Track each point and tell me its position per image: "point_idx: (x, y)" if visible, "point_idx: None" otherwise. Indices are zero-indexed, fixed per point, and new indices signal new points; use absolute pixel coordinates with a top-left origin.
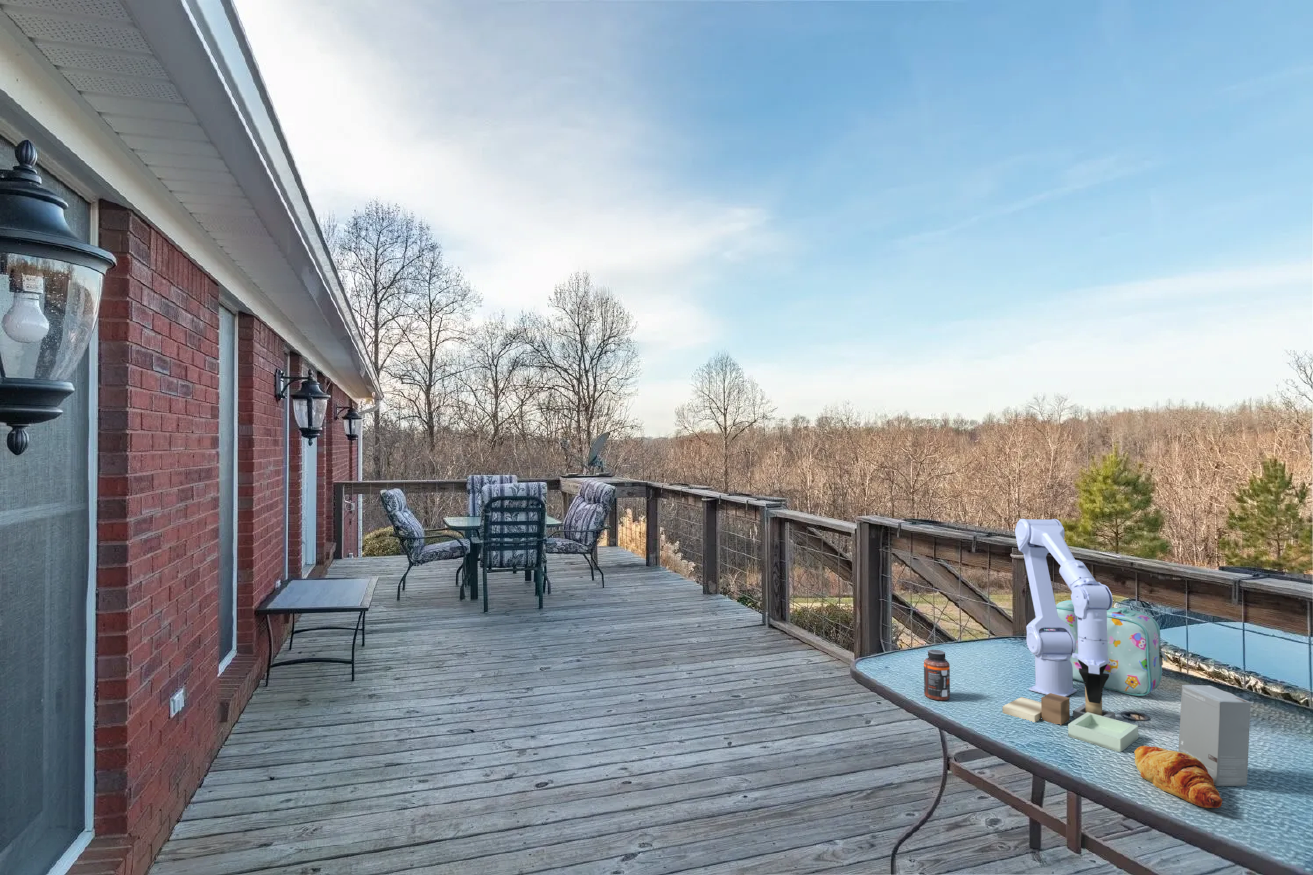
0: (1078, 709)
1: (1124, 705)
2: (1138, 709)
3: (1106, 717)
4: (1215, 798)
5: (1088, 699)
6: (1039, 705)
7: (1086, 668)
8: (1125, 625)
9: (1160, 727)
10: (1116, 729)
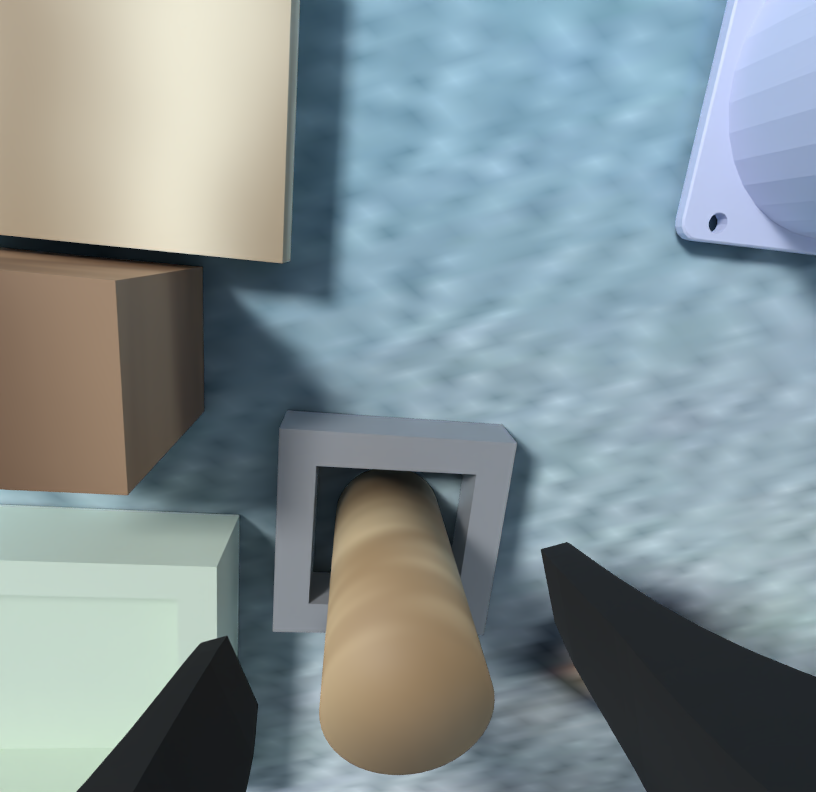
0: (351, 451)
1: (801, 570)
2: (769, 637)
3: None
4: None
5: (188, 657)
6: (170, 162)
7: (714, 789)
8: None
9: (519, 770)
10: None
